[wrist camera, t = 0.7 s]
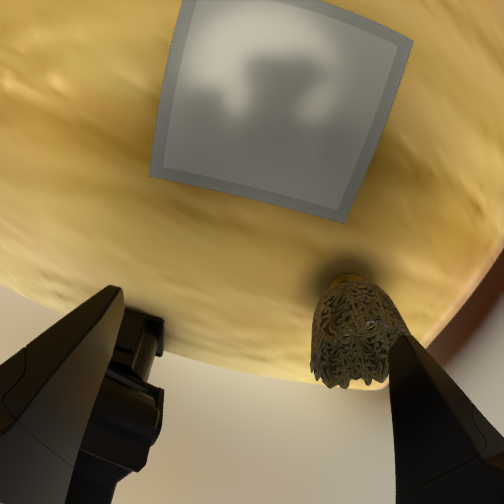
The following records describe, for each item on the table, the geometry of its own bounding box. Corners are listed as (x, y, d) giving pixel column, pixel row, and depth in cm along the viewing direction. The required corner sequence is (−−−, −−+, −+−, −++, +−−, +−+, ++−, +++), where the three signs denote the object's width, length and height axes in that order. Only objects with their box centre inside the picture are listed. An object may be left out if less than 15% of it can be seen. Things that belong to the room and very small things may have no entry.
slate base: (334, 202, 20) (344, 224, 18) (164, 160, 19) (148, 177, 17) (392, 42, 13) (414, 40, 11) (201, -12, 12) (189, -25, 10)
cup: (300, 317, 27) (306, 393, 21) (304, 252, 23) (315, 334, 16) (377, 313, 27) (397, 384, 20) (394, 249, 22) (430, 324, 16)
